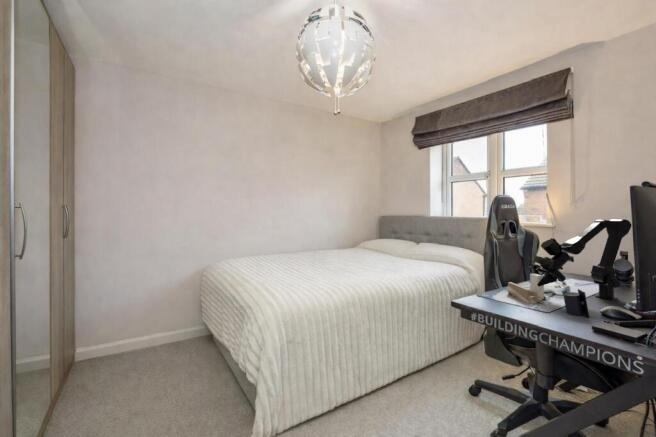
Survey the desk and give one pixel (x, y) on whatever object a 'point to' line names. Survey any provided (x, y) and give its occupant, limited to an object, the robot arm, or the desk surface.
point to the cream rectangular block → (533, 284)
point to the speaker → (576, 303)
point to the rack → (523, 293)
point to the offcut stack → (532, 292)
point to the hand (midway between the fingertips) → (534, 284)
